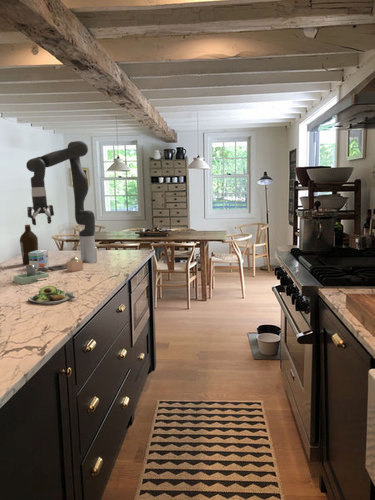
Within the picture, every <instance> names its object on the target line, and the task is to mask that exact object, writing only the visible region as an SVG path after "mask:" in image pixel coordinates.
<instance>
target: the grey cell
mask: <svg viewBox="0 0 375 500" xmlns="http://www.w3.org/2000/svg"><path fill="white" fill-rule="evenodd" d="M25 269H26V273H27V277H30V276H36V275H35V271H36V268H34V264H28V265H25Z"/></svg>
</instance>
